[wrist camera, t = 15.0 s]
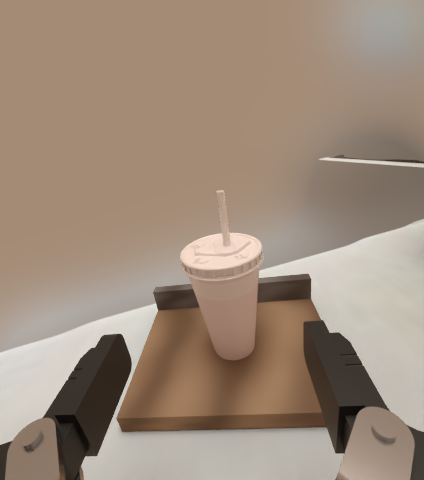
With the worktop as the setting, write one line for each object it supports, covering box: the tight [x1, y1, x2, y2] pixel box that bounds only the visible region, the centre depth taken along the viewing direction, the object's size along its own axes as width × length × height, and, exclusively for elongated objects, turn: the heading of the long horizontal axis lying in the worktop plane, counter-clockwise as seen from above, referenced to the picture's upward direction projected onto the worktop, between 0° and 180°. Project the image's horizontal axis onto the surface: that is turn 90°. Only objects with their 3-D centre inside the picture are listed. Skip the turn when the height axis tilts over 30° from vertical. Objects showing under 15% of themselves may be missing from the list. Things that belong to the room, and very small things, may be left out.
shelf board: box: [116, 274, 327, 431], centre depth 24 cm, size 17×13×4 cm
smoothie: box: [180, 190, 264, 360], centre depth 21 cm, size 6×6×14 cm
